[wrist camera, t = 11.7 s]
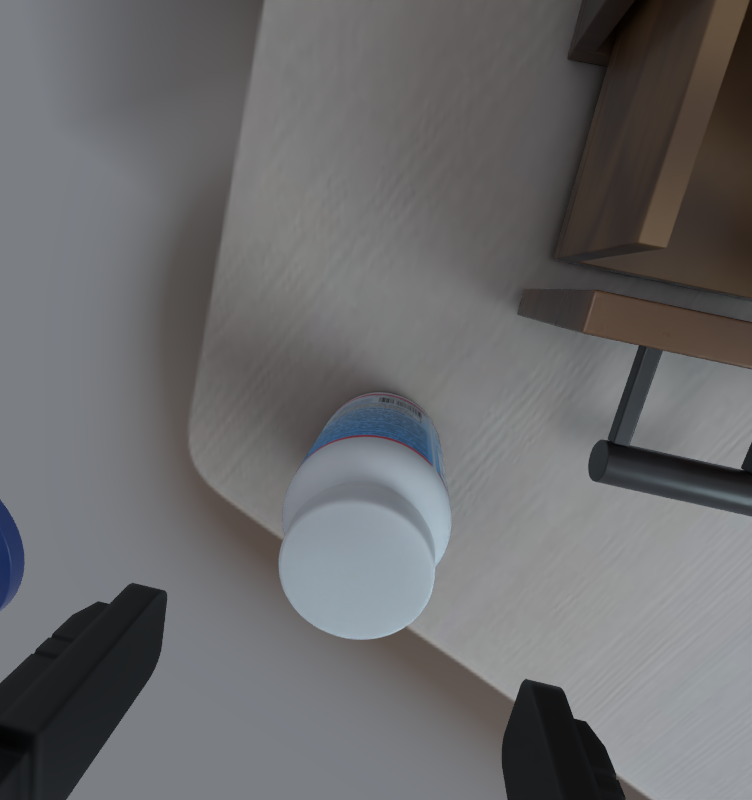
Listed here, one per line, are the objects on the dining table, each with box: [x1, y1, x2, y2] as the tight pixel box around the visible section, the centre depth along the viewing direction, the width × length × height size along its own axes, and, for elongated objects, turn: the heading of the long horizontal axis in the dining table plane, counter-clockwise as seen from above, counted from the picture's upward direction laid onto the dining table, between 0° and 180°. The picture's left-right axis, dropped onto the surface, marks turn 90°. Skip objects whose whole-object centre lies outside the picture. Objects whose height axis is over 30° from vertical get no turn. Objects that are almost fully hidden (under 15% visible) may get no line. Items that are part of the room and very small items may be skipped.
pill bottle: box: [279, 392, 451, 640], centre depth 19 cm, size 6×6×11 cm
